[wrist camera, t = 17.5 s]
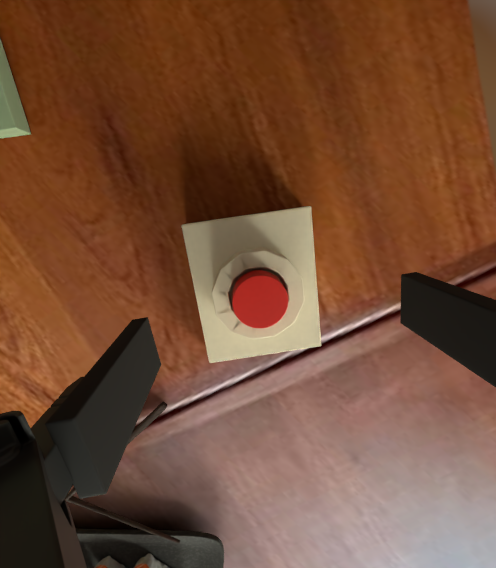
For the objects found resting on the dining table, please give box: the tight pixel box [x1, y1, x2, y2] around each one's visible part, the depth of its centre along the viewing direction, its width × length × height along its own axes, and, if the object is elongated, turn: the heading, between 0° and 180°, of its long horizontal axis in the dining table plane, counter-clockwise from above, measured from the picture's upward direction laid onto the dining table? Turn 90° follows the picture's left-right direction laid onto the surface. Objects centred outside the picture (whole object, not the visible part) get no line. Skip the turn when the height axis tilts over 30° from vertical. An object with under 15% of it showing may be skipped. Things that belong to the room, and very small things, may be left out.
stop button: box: [232, 270, 288, 328], centre depth 20 cm, size 4×4×2 cm
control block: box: [182, 206, 321, 363], centre depth 22 cm, size 12×10×4 cm
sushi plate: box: [65, 402, 224, 568], centre depth 28 cm, size 29×30×4 cm
